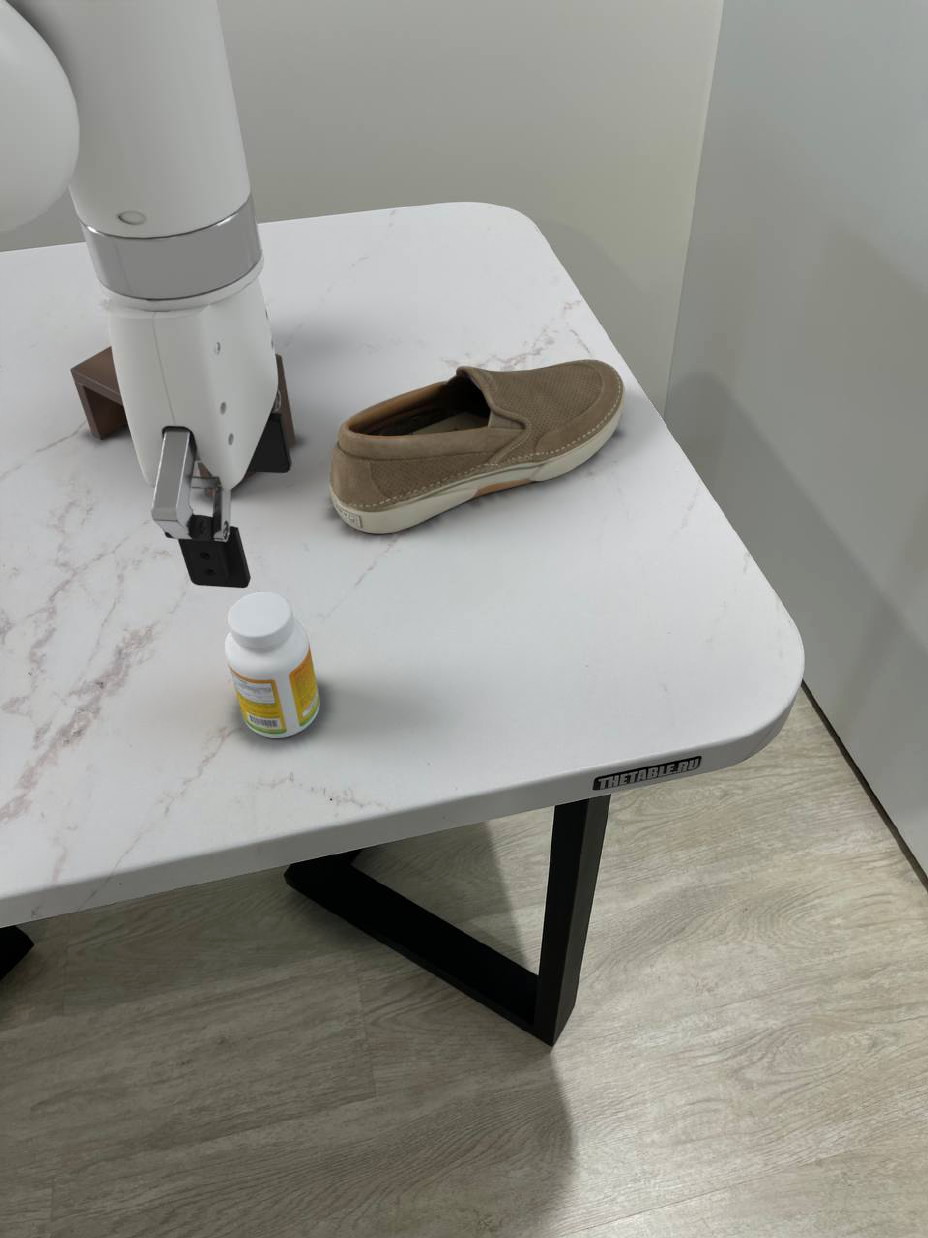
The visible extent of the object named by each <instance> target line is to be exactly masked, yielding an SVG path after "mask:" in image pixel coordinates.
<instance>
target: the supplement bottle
mask: <svg viewBox="0 0 928 1238" xmlns="http://www.w3.org/2000/svg"><path fill="white" fill-rule="evenodd" d="M227 622H228V627H229V632H228V634H227V635H226V638H225V642H224V654H225V658H226V662H227V666H228V669H229V672H230V675H231V679H232V683H233V687H234V690H235V694H236V697H237V700H238V704H239V708H240V712H241V715H242V718H243V720H244V722H245V724H246V725H247V727H248V728H249V729H250V730H251V731H252V732H254V733H256V734H258V735H260V736H262V737H266V738H272V739H281V738H288V737H292V736H294V735H297V734H298V733H299V734H300V732H302V731H304V730H305V729H306V728H307V727H309V726H310V725H311V724H312V723H313V721H314V720H315V719H316V717H317V716H318V713H319V709H320V694H319V693H320V692H319V689H318V683H317V678H316V672H315V666H314V662H313V655H312V650H311V645H310V640H309V637H308V633H307V631H306V628H305V627H304V625H303V624H302V622H300V621H299V620H298V619H297V618H295V617H294V613H293V610H292V606H291V604H290V602H289V601H288V600H287V598H286V597H285V596H283V595H281V594H279V593H276V592H273V591H256V592H251V593H248V594H245V595H244V596H242V597H240V598H239V599H238V600H236V601H235V602H234V603H233V604H232V605H231V607H230V609H229V611H228V614H227Z"/></svg>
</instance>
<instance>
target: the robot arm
mask: <svg viewBox="0 0 928 1238" xmlns="http://www.w3.org/2000/svg"><path fill="white" fill-rule="evenodd" d="M223 33H224V32H223V27H222V22H221V17H220V10H219V6H218V0H0V235H1V234H5V233H11V232H14V231H16V230H18V229H20V228H22V227H24V226H26V225H28V224H30V223H32V222H35V221H36V220H37V219H39V218H40V217H42V216H43V215H44V214H45V213H46V212H48V211H49V210H50V209H52V208H53V206H54V205H55V204H56V203H57V202H58V201H59V199H60V198H61V197H62V195H63V194H64V193H65V192H66V189H67V188H68V190H69V193H70V196H71V199H72V202H73V206H74V210H75V212H76V215H77V219H78V221H79V224H80V227H81V230H82V234H83V237H84V240H85V244H86V247H87V249H88V253H89V256H90V259H91V263H92V265H93V269H94V272H95V274H96V275H95V276H96V278H97V281H98V282H97V283H98V285H99V287H100V289H101V291H102V293H103V294H104V295H105V296H106V297H107V298H108V299H109V300H108V303H107V306H106V314H107V320H108V321H107V322H108V323H107V324H108V333H109V339H110V346H112V353H113V360H114V365H115V370H116V375H117V380H118V384H119V388H120V393H121V397H122V401H123V405H124V409H125V413H126V417H127V421H128V423H127V425H128V429H129V431H130V436H131V439H132V443H133V446H134V451H135V454H136V457H137V461H138V464H139V467H140V470H141V473H142V476H143V477H144V480H145V482H146V483H147V484H148V485H149V486H150V487H151V488H154V491H153V498H152V502H151V508H150V509H151V510H150V512H151V513H150V514H151V519H152V520H153V522H154V523H155V524H156V525H157V526H158V527H159V528H160V529H161V530H162V531H163V532H164V536H165V537H166V538H168V539H173V540H177V541H178V545H179V548H180V551H181V555H182V557H183V561H184V564H185V567H186V570H187V573H188V576H189V580H190V582H191V583H192V584H193V585H195V586H200V587H214V588H217V587H218V588H231V589H247V588H248V587H249V586H250V582H251V579H252V577H251V573H250V569H249V565H248V560H247V557H246V553H245V549H244V546H243V545H244V544H243V542H242V537H241V533H240V529H239V527H238V526H233V525H231V511H232V490H233V489H234V488H233V487H235V486H236V485H237V484H238V483H239V482H240V481H241V480H242V478H243V477H244V475H245V473H246V471H248V472H255V473H270V474H271V473H272V474H286V473H289V472H290V470H291V468H292V465H293V462H292V457H291V451H290V448H289V445H288V440H287V435H286V430H285V425H284V419H283V414H282V413H273V411H279V410H280V406H281V394H280V391H279V390H278V389H277V387H278V372H277V363H276V356H275V353H276V351H275V345H274V339H273V335H272V330H271V324H270V320H269V315H268V311H267V307H266V303H265V299H264V295H263V290H262V287H261V283H260V280H259V279H260V278H259V275H260V274H261V272H262V269H264V263H265V262H264V261H265V257H264V252H263V251H264V250H263V248H262V241H261V236H260V231H259V225H258V219H257V213H256V208H255V203H254V198H253V192H252V187H251V182H250V175H249V170H248V165H247V159H246V154H245V153H246V152H245V148H244V143H243V137H242V131H241V125H240V120H239V115H238V110H237V105H236V104H237V103H236V98H235V92H234V88H233V82H232V76H231V72H230V71H231V70H230V65H229V60H228V56H227V55H228V54H227V49H226V44H225V39H224V34H223ZM197 462H202V463H203V464H204V466H205V467H206V468H207V470H208V471H209V472H210V473H211V475H212V476H213V477H201V476H199V475H198V476H197V475H194V470H195V465H196V463H197ZM237 486H238V485H237ZM237 486H236V487H237ZM236 487H235V488H236ZM232 488H233V489H232ZM191 489H197V490H204V489H213V500H212V516H209V515H204V514H195V513H194V509H193V507H192V506H191V503H190V494H191ZM231 489H232V490H231Z"/></svg>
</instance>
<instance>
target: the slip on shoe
mask: <svg viewBox="0 0 928 1238" xmlns="http://www.w3.org/2000/svg"><path fill="white" fill-rule="evenodd" d="M625 401H626V387H625V382H624V381H623V378H622V377H621V376H620V374H619V372H618V371H617V370H616V368H615V367H613V366H611V365H610V364H608V363H607V362H605V361H601V360H598V359H586V358H585V359H577V360H576V359H575V360H571V361H566V362H560V363H555V364H551V365H549V366H543V367H538V368H532V369H524V370H522V369H521V370H509V371H508V370H507V371H502V370H501V371H500V370H499V371H498V370H489V369H484V368H480V367H473V366H471V365H461V366H459V367H457V369H456V370H455V375H454V376H452V377H450V378H449V379H447V380H441V381H437V382H435V383H431V384H428V385H425V386H422V387H419V388H416V389H413V390H409V391H406V392H404V393H401V394H399V395H396V396H393V397H391V398H388V399H385V400H383V401H380V402H377V403H375V404H372V405H370V406H369V407H367V408H364V409H362V410H360V411H358V412H357V413H355V414H354V415H352V416H350V417H348V419H346V420H345V421H344V422H342V424H341V426H340V428H339V430H338V432H337V433H338V434H337V441H336V442H335V443H334V445H333V446H334V447H333V448H332V455H331V456H332V458H331V462H330V467H329V468H330V469H329V491H330V497H331V501H332V504H333V507H334V508H335V510H336V512H337V514H338V515H339V516H340V518H341V519H342V520H343V521H344V522H345V523H346V524H348V525H349V526H350V527H351V528H353V529H355V530H358V531H360V532H364V533H368V534H391V533H397V532H401V531H404V530H407V529H409V528H411V527H414V526H417V525H419V524H421V523H423V522H425V521H427V520H429V519H431V518H433V517H435V516H437V515H440V514H442V513H444V512H446V511H448V510H450V509H453V508H455V507H457V506H459V505H461V504H463V503H465V502H467V501H469V500H473V499H475V498H477V497H480V496H483V495H487V494H490V493H495V492H498V491H502V490H507V489H511V488H515V487H518V486H522V485H526V484H530V483H532V482H544V481H548V480H551V479H554V478H557V477H560V476H562V475H565V474H566V473H568V472H571V471H572V470H574V469H576V468H577V467H579V466H580V465H582V464H584V463H586V462H587V460H589V459H590V458H591V457H592V456H594V455H595V454H596V453H598V451H599V450H600V449H601V448H603V446H604V445H605V444H606V443H607V442H608V440H610V438H611V437H612V435H613V434H614V432H615V430H616V429H617V427H618V425H619V422H620V421H621V417H622V414H623V411H624V407H625Z"/></svg>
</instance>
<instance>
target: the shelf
mask: <svg viewBox="0 0 928 1238" xmlns="http://www.w3.org/2000/svg"><path fill="white" fill-rule="evenodd" d="M275 356H276V363H277V372H278V387H277V389H278V390H279V391H280V394H281V406H280V410H279V411H273V413H282V414H283V419H284V425H285V430H286V435H287V440H288V445H289V449H290V448H291V447H292V446H294V445H295V444H296V443H297V440H296V434H295V429H294V423H293V416H292V411H291V404H290V398H289V392H288V387H287V380H286V375H285V374H286V373H285V367H284V361H283V356H282V355H280V354H279V353H276V352H275ZM69 371H70V374H71V376H72V377H71V378H72V380H73V383H74V386H75V389H76V391H77V394H78V396H79V400H80V403H81V406H82V409H83V412H84V414H85V418H86V421H87V424H88V427H89V429H90V432H91V435H92V436H93V437H95V438H96V439H98V440H103V439H104V438H106V437H107V436H109V435H110V434H112V433H115V431H117V430H118V429H120V428H122V427H123V426H125V425H127V424H128V421H127V417H126V413H125V409H124V405H123V401H122V397H121V393H120V388H119V384H118V380H117V375H116V370H115V365H114V360H113V353H112V346H111V345H109V346H108V347H106V348H105V349H103V350H101V351H100V352H97V353H95V354H94V355H92V356H90V357H88V358H86V359H85V360H83V361H82V362H80V363H78V364H76V365H74V366H73V367H71V368H70V369H69ZM196 463H197V468H198V471H199V475H200V477H213V476H212V475H211V473H210V472H209V471H208V470H207V468H206V467H205V466H204V464H203V463H202V462H196ZM254 474H256V472H248V471H246V473H245V475H244V477H243V478H242V480H241V481H240V482H239V483H238V484H237V485H236V486H235V487H233V488H232V489H231V491H232V490H233V489H234V488H237V486H239V485H240V484H242V483H243V482H244V481H246V480H247V479H248V478H250V477H251V476H253V475H254ZM203 491H204V494H205V497H206V498H208V499H209V500H212V501H213V489H203Z"/></svg>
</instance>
